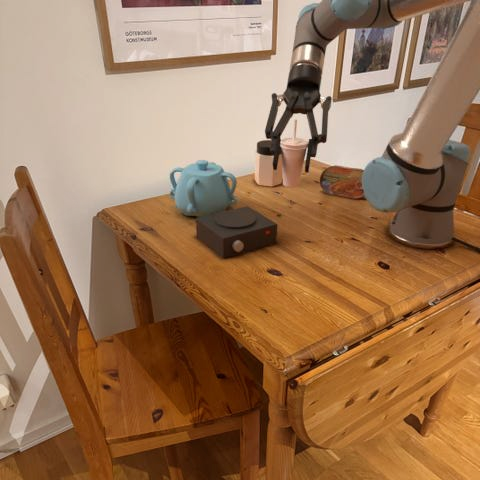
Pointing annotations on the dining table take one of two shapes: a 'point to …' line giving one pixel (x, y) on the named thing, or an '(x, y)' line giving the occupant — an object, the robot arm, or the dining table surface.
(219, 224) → the hot plate
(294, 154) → the smoothie
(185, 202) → the decorative pot
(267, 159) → the jar
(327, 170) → the tin
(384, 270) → the dining table surface
